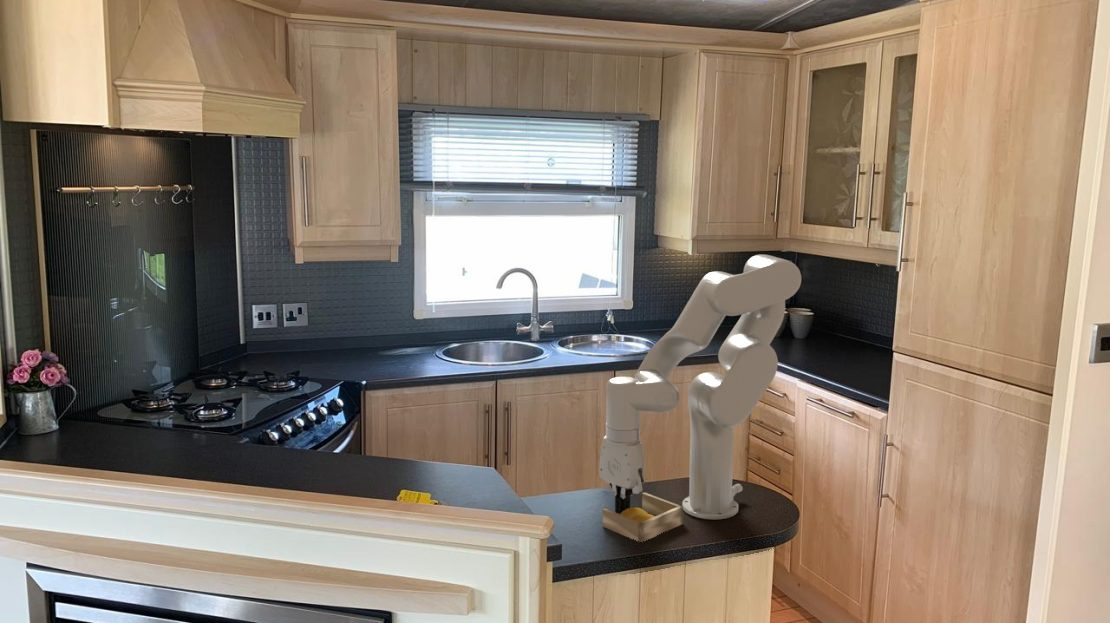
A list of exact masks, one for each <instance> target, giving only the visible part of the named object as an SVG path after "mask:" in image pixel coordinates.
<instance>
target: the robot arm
mask: <svg viewBox="0 0 1110 623" xmlns="http://www.w3.org/2000/svg"><path fill="white" fill-rule="evenodd" d="M801 284H802V274H801V271H800V269H799V267H798V266H797V264H795V263H793V262H792V261H791V260H788V259H784V258H781V257H776V256H774V255H769V254H756V255H754V256H751V257H750V258H749V259H748V260H747V261H746V262H745V265H744V266H743V272H742V273H739V274H732V273H728V272H725V271H721V270H720V271H718V270H715V271H711V272H708V273H707V274H705V275H704V276H703V277H702V278H701V280H700V281H699V283H698V285H697V286H696V288H695V290H694V291H693V293H692V295H691V296H690V298H689V300H688V301H687V303H686V305H685V306H684V308H683V310H682V311H681V313H680V315H679V316H678V318H677V320H676V321H675V323H674V325H672V328H670V330H668V331H667V332H666V333H664V335H663V336H662V337H661V338H660V339H659V340H658V341H657V342H656V343H654V345H653V346H652V347H651V348H650V349H649V351H648V352H647V354H646V355H645V357H644V358H643V361H642V362H641V363H640V366H639V367H638V369H637V371H636V373H635V375H634V377H632V376H615V377H612V378H610V379H609V380H608V381H607V383H606V390H605V391H606V392H605V395H606V396H605V398H606V399H605V400H606V401H605V403H606V408H605V409H606V410H605V412H606V414H605V420H606V421H605V423H604V429H605V436H603V438H602V442H601V448H600V455H599V456H600V457H599V470H598V471H599V477H600V479H602V480H603V481H604V483H606V484H608V485H609V486H610V488H611V489H612V490H611V491H612V495H613V496H615V497H614V512H616V513H618V514H620V513H622V512H623V511H624V510H626V509H628V508H631V496H633V495H634V494H635V495H636V494H642V493H644V492H643V485H644V483H645V480H646V477H645V476H646V464H645V453H644V452H645V451H644V446H643V441H642V440H641V430H642V429H641V427H642V426H641V419H642V418H641V416H642V415H641V414H642V413H653V414H666V413H669V412H671V411H672V410H674V409H675V408H676V407H677V406H678V404H679V401H680V393H679V389H678V388H677V386H676V385H675V384H674V383H673V382H672V381H671V380H670V379H669V378H670V376H671V375H672V373H673V372H674V370H675V369H676V367H677V366H678V365H679V363H680V362H681V361H683V360H684V359H686V358H687V357H688V356H690V355H692V354H695V353H698V352H700V351H702V350H704V349H706V348H707V347H708V346H709V345H710V343H711V341H712V339H714V336H715V334H716V333H717V331H718V329H719V327H720V326H721V324H722V323H723V321H724V319H725V317H726V316H729V317H735V316H740V317H739V319H738V320H737V322H736V323H735V325H734V326H733V328H732V330H730V332H729V334H728V335H727V337H726V338H725V340H723V343H722V344H721V346H720V348H719V350H718V354H717V357H718V358H717V359H718V362H719V364H720V365H721V367H722V368H723V369H724V370H725V371H727V373H726V374H725V376H724V375H722V374H720V373H717V372H712V371H707V372H702V373H700V374H698V375H696V376H695V377H694V379H692V381H691V382H690V385H689V387H688V390H687V391H688V392H687V406H688V411H689V412H688V413H689V423H690V424H689V426H690V428H689V429H690V430H689V432H690V433H689V434H690V435H689V436H690V438H689V440H690V441H689V485H688V486H689V487H688V488H689V490H688V491H689V492H688V494H689V495H688V496H687V497H685V498H684V499H683V500H682V502H681V504H682V505H681V506H683V512H685V513H686V514H688V515H690V516H692V517H696V518H698V519H703V520H712V521H713V520H723V519H725V520H726V519H729V518H732V517H734V516H735V515H737V513H739V503H738V502H737V501H736V500H735V499H734V497H735V496H736V494H738V493H740V492H743V486H742V484H740V483H736V484H734V485H733V467H734V466H733V464H734V463H733V461H734V460H733V459H734V428H735V427H737V426H740V425H741V424H743V423H744V422H745V421H746V419H748V418H749V416H750V415H751V413H752V412H753V411H754V410H755V408H756V406H757V404H758V403H759V402H760V400H761V398H762V397H763V395H765V393H766V391H767V390H768V388H769V387H770V385H771V383H772V382H773V381H774V378H775V376H776V374H777V370H778V365H779V360H778V356H777V353H776V351H775V349H774V348H773V347H772V346H771V343H772V341H773V340H774V338H775V336H776V335H777V333H778V331H779V329H780V328H781V326H782V323H783V321H784V318H785V311H786V300H789V299H790V298H791V297H793V296H794V295H795V294H796V293H797V292H798V291H799V289H800V287H801Z"/></svg>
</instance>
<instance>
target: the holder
mask: <svg viewBox="0 0 1110 623" xmlns="http://www.w3.org/2000/svg"><path fill="white" fill-rule="evenodd" d="M641 495H642V496H641V509H643V510H644V511H646V512H647V513H648V514H651V515H653V516H655V517H653V518H651V519H648V520H646V521H644V522H641V523H640V522H638V521H636V520H633V519H631V518H628V517H626V516H623V515H621V514H619V513H616V512H615V511H613V510H610V509H607V508H606V507H605V508H602V527H603V528H606V529H608V530H609V531H611V532H614V533H617V534H619V535H621V536H624V537H626V538H628V537H629V539H630V540H633V539H634V540H633V541H635V540H636V542H638V541H639V542H638V543H640V542H642V543H644V542H646V540H647V541H648V539H649V540H650V539H653V538H655V537H657V535H658V536H660V535H661V533H662V534H663V532H664V533H666V532H668V531H670V530H672V529H675V528H677V527H680V526H682V525H683V524H684V510H683V506H682V505H679V504H677V503H675V502H672V501H669V500H666V499H663V498H660V497H658V496H655V495H653V494H650V493H647V492H641ZM665 531H666V532H665ZM659 534H660V535H659ZM643 541H644V542H643Z"/></svg>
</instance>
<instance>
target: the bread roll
mask: <svg viewBox="0 0 1110 623" xmlns="http://www.w3.org/2000/svg"><path fill="white" fill-rule="evenodd" d="M620 514H621V515H623V516H626V517H628V518H631V519H633V520H636V521H638V522H640V523H641V522H644V521H646V520H648V519H651V518H653V517H655V516H656V515H654V514H651V513H649V512H646V511H644V510H643V509H642V507H641V508H640V507H630V508H628V509H626V510H624V511H623V512H622V513H620Z"/></svg>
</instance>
